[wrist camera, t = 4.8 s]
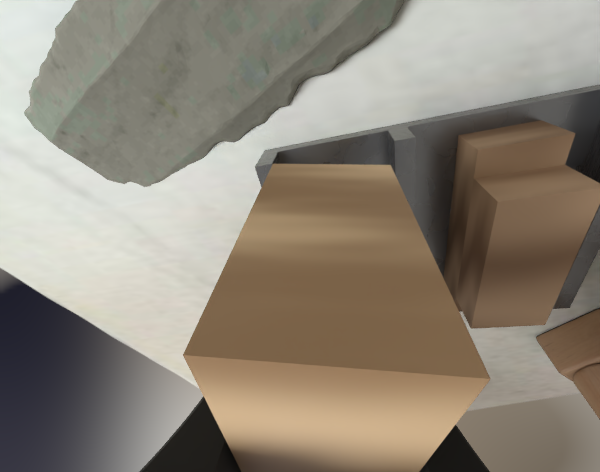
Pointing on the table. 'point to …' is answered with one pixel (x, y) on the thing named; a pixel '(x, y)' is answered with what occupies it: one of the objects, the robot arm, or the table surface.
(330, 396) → the oak board
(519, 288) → the walnut offcut upper
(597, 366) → the wooden block
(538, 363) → the table surface
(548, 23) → the table surface
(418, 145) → the rack
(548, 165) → the walnut offcut lower
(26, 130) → the table surface
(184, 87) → the stone slab
